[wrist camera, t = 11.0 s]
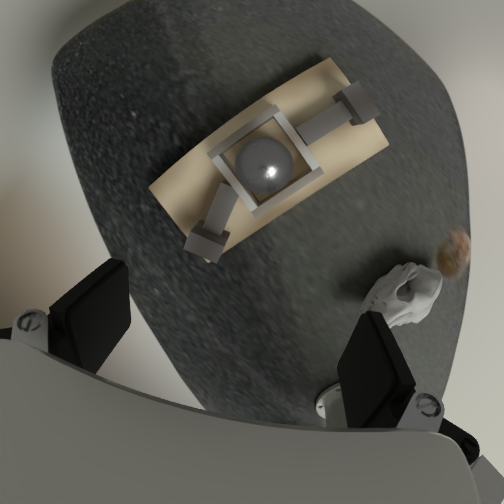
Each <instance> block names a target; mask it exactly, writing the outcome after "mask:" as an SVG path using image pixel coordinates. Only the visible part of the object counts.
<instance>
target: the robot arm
mask: <svg viewBox="0 0 504 504" xmlns="http://www.w3.org/2000/svg"><path fill="white" fill-rule="evenodd" d="M49 310H50V314H48V315H46V313H45V312H43V311H41V310H38V309H30V310H26V311H23V312H21V313H20V314H19V315H17V317H16V318H15V320H14V323H13V327H11V328H5V329H0V504H501V502H502V501H503V499H504V477H503V476H502V475H501V474H500V473H499V472H498V471H497V470H496V469H495V468H494V466H492V464H491V463H490V462H489V461H488V460H487V459H486V458H485V457H484V456H483V455H482V456H480V457H479V452H480V449H479V444H478V442H477V440H476V439H475V438H474V437H473V436H472V435H470V434H469V433H467V432H465V431H464V430H462V429H461V428H459V427H457V426H456V425H454V424H453V423H451V422H449V421H448V420H446V419H445V418H443V415H444V410H445V409H444V405H443V403H442V401H441V399H440V398H439V397H438V396H437V395H435V394H434V393H432V392H430V391H427V390H419V391H417V392H416V391H415V389H414V387H415V385H416V383H415V380H414V378H413V376H412V374H411V371H410V369H409V367H408V365H407V363H406V361H405V359H404V356H403V354H402V352H401V350H400V348H399V346H398V344H397V342H396V340H395V338H394V336H393V334H392V332H391V330H390V328H389V326H388V324H387V322H386V320H385V319H384V317H383V315H382V313H381V312H376V311H369V310H368V311H366V312H365V313H362V314H361V316H360V318H359V320H358V322H357V324H356V327H355V329H354V331H353V333H352V335H351V338H350V340H349V342H348V344H347V346H346V348H345V350H344V352H343V354H342V356H341V358H340V360H339V362H338V366H337V372H338V377H339V383H337V384H334V385H332V386H331V387H329V388H327V389H326V390H325V391H323V392H322V393H321V394H320V395H319V397H318V398H317V400H316V411H317V413H318V415H320V416H321V417H323V418H324V419H326V426H327V427H312V426H299V425H289V424H280V423H272V422H265V421H258V420H251V419H245V418H240V417H234V416H229V415H224V414H219V413H214V412H210V411H206V410H201V409H197V408H193V407H189V406H186V405H182V404H178V403H175V402H171V401H168V400H165V399H161V398H158V397H155V396H151V395H149V394H146V393H142V392H140V391H137V390H134V389H131V388H128V387H126V386H123V385H120V384H118V383H115V382H113V381H110V380H108V379H105V378H103V377H100V376H98V375H96V373H97V371H98V370H99V369H100V367H101V366H102V364H103V363H104V361H105V360H106V359H107V357H108V356H109V354H110V353H111V352H112V350H113V349H114V347H115V346H116V345H117V343H118V342H119V341H120V339H121V338H122V336H123V335H124V334H125V332H126V331H127V330H128V328H129V326H130V324H131V312H130V299H129V279H128V267H127V265H125V263H124V261H121V260H117V259H113V258H110V259H108V260H107V261H106V262H104V263H103V264H102V265H101V266H99V267H98V268H97V269H95V270H94V271H93V272H91V273H90V274H89V275H88V276H86V277H85V278H84V279H83V280H81V281H80V282H79V283H78V284H77V285H75V286H74V287H73V288H72V289H70V290H69V291H68V292H67V293H66V294H64V295H63V296H62V297H61V298H60V299H59V300H57V301H56V302H55V303H54V304H53V305H52V306H50V307H49Z"/></svg>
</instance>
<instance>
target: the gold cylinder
mask: <svg viewBox="0 0 504 504" xmlns="http://www.w3.org/2000/svg"><path fill="white" fill-rule="evenodd" d="M235 171H236V175H237V177H238V179H239V181H240V182H241V183H242V185H243V186H244V187H246V188H247V189H248V190H250V191H252V192H255V193H259V194H270V193H274V192H276V191H279V190H280V189H282V188H283V187H284V186H285V185H286V184H287V183H288V182H289V180H290V178H291V176H292V173H293V159H292V156H291V154H290V152H289V150H288V149H287V147H286V146H285V145H284V144H282V143H281V142H280V141H278V140H276V139H273V138H269V137H259V138H255V139H252V140H250V141H248V142H247V143H245V144H244V145H243V146H242V147H241V148H240V150H239V151H238V153H237V156H236V159H235Z"/></svg>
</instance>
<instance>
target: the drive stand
mask: <svg viewBox="0 0 504 504" xmlns="http://www.w3.org/2000/svg"><path fill="white" fill-rule="evenodd" d="M380 114H381V113H380V112H379V110H378V108H377V107H376V105H375V104H374V102H373V101H372V99H371V98H370V96H369V95H368V93H367V92H366V90H365V89H364V87H363V86H362V85H361V83H360V82H359V80H358V81H356V82H354V83H353V84H350V82H349V81H348V80H347V78H346V77H345V76H344V74H343V73H342V72H341V70H340V69H339V68H338V67H337V65H336V64H335V63H334V61H333V60H332V59H331V58H328V59H326V60H324V61H322V62H321V63H319V64H317V65H315V66H313V67H311V68H310V69H308V70H306V71H304V72H303V73H301V74H299V75H298V76H296V77H294V78H292V79H291V80H289V81H288V82H286V83H284V84H283V85H281V86H279V87H278V88H276V89H275V90H273V91H272V92H270V93H268V94H267V95H265V96H264V97H262V98H261V99H259V100H258V101H256V102H255V103H253V104H252V105H250V106H249V107H248V108H246V109H245V110H243V111H242V112H240V113H239V114H238V115H236V116H235V117H233V118H232V119H231V120H229V121H228V122H227V123H225V124H224V125H223V126H221V127H220V128H219V129H217V130H216V131H215V132H213V133H212V134H211V135H209V136H208V137H207V138H206V139H204V140H203V141H202V142H201V143H199V144H198V145H197V146H196V147H194V148H193V149H192V150H191V151H189V152H188V153H187V154H186V155H185V156H183V157H182V158H181V159H180V160H179V161H178V162H176V163H175V164H174V165H173V166H172V167H171V168H169V169H168V170H167V171H166V172H165V173H164V174H163V175H162V176H160V177H159V178H158V179H157V180H156V181H155V182H154V183H153V184H152V185H151V186H149V187H148V188H149V189H150V191H151V192H152V193H153V194H154V196H155V197H156V198H157V200H158V201H159V202H160V204H161V205H162V206H163V207H164V209H165V210H166V211H167V213H168V214H169V215H170V216H171V218H172V219H173V220H174V221H175V223H176V224H177V225H178V227H179V228H180V229H181V230H182V232H183V233H184V234H185V235H186V237H187V240H186V243H185V246H184V249H185V250H187V251H189V252H191V253H194V254H196V255H198V256H200V257H203V258H204V259H205V260H206V261H207V262H208V263H209V262H211V261H212V262H214V263H216V264H217V262H218V260H219V258H220V256H221V254H222V253H224V252H225V251H227V250H228V249H230V248H231V247H233V246H234V245H236V244H237V243H239V242H240V241H242V240H243V239H245V238H246V237H248V236H249V235H251V234H252V233H254V232H255V231H257V230H258V229H260V228H261V227H263V226H264V225H266V224H267V223H269V222H270V221H272V220H273V219H275V218H277V217H278V216H280V215H281V214H283V213H284V212H286V211H287V210H289V209H290V208H292V207H293V206H295V205H296V204H298V203H299V202H301V201H302V200H304V199H306V198H307V197H309V196H310V195H312V194H313V193H315V192H316V191H318V190H319V189H321V188H322V187H324V186H326V185H327V184H329V183H330V182H332V181H333V180H335V179H336V178H338V177H340V176H341V175H343V174H344V173H346V172H347V171H349V170H350V169H352V168H354V167H355V166H357V165H358V164H360V163H361V162H363V161H365V160H366V159H368V158H369V157H371V156H373V155H374V154H376V153H377V152H379V151H380V150H382V149H384V148H385V147H387V146H388V145H389V143H388V142H387V140H386V138H385V136H384V135H383V133H382V131H381V130H380V128H379V126H378V125H377V123H376V121H375V120H374V118H375V117H377V116H378V115H380ZM259 137H269V138H273V139H276V140H278V141H280V142H281V143H282V144H284V145H285V146H286V147H287V149H288V150H289V152H290V154H291V156H292V159H293V173H292V176H291V178H290V180H289V182H288V183H287V184H286V185H285V186H284V187H283V188H282V189H280V190H279V191H276V192H274V193H270V194H259V193H255V192H252V191H250V190H248V189H247V188H246V187H244V186H243V185H242V183H241V182H240V181H239V179H238V177H237V175H236V171H235V159H236V156H237V153H238V151H239V150H240V148H241V147H242V146H243V145H244V144H245V143H247V142H248V141H250V140H252V139H255V138H259Z"/></svg>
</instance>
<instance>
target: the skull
mask: <svg viewBox="0 0 504 504" xmlns="http://www.w3.org/2000/svg"><path fill="white" fill-rule="evenodd" d="M407 281H409V282H408V283H407V284H405V283H406V282H407ZM403 284H405V285H403ZM400 286H401V287H400ZM399 287H400V288H399ZM441 287H442V275H441V273H440V272H439V271H438V270H432V269H429V268H427V267H425V266H423V265H421V264H419V265H416V264H415V263H413V262H410V263H406V264H405V265H404V266H402V265H396V266H395V267H394V268H393V269H392V270H391V271H390V272H389V273H388V274H387V275H384V276H382V277H380V278H379V279H378V280H377V281H376V282H375V284H374V286H373V287H372V288H371V289H370V291H369V292H368V294H367V296H366V298H365V300H364V302H363V303H362V305H361V307H360V309H359V312H358V314H357V317H356V324H357V322H358V320H359V318H360V316H361V314H362V313H365V312H366V311H368V310H369V311H376V312H381V313H382V315H383V317H384V319H385V320H386V322H387V324H388V326H389V328H391V327H392V326H394V325H399V326H400V325H403V324H407V323H409V322H413V323H418V322H419V321H420V320H422V319H423V318H424V317H426V316H427V315H428V313H429V312H430V310H431V307H432V304H433V302H434V300H435V299H436V298H437V297H438V295H439V292H440V290H441ZM377 298H378V299H377ZM373 303H374V306H373ZM371 306H373V307H371ZM370 307H371V310H370Z"/></svg>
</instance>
